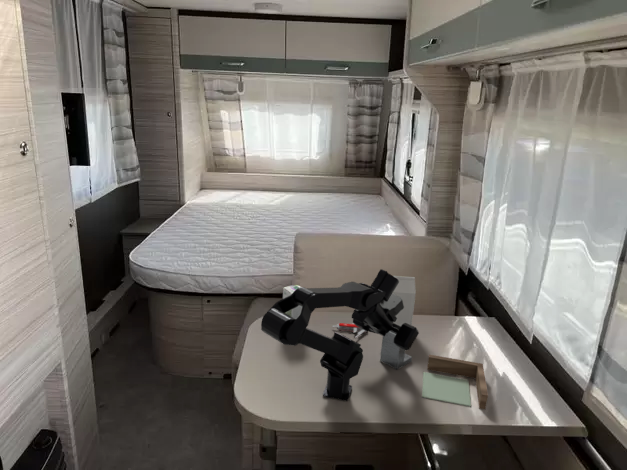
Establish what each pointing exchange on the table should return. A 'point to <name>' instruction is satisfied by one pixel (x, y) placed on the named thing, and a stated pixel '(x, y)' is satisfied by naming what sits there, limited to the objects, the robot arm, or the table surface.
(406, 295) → the milk carton
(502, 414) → the table surface
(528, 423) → the table surface
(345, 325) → the swiss army knife
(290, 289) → the syrup box
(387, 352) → the gray block
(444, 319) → the table surface
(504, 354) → the table surface
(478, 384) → the brown wooden corner wall
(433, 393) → the mat
